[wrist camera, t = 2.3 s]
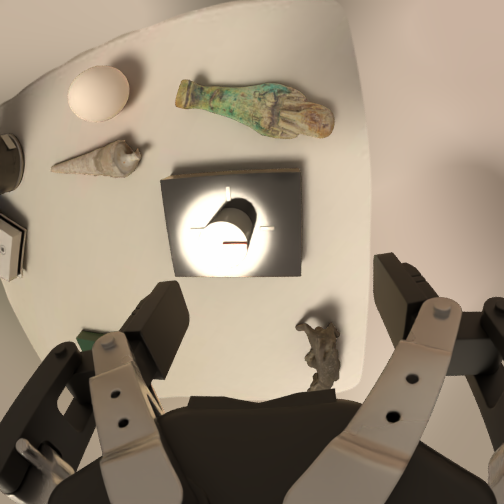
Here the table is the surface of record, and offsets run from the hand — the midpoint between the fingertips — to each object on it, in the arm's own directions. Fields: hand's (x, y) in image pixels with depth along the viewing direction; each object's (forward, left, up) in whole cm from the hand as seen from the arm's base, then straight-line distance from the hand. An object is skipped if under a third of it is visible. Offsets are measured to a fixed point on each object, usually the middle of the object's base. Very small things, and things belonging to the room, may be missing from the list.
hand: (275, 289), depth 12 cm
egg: (-18, +13, -21) cm, 30 cm away
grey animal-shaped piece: (+5, -21, -21) cm, 30 cm away
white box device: (-45, +2, -18) cm, 49 cm away
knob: (-5, -3, -18) cm, 19 cm away
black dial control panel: (-5, -3, -21) cm, 22 cm away
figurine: (-2, +9, -21) cm, 23 cm away
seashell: (-22, +5, -21) cm, 31 cm away
